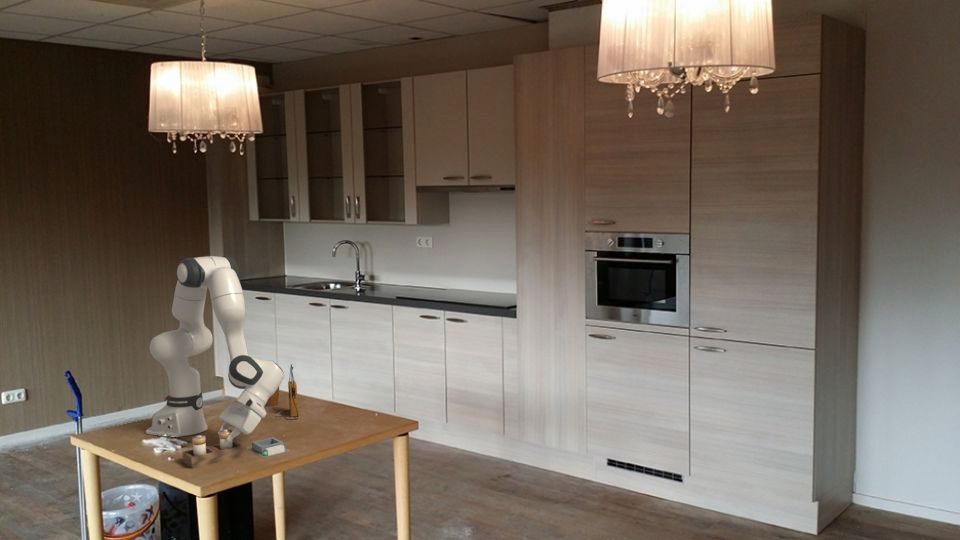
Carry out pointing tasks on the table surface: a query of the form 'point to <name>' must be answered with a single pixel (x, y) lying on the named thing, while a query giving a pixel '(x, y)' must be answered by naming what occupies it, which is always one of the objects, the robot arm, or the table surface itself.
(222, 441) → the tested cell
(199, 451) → the cell
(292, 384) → the multimeter
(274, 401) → the disposable coffee cup
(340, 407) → the table surface
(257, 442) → the checker
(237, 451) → the rack
